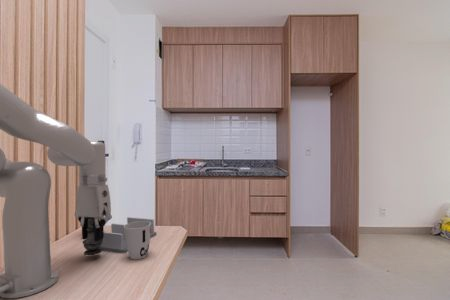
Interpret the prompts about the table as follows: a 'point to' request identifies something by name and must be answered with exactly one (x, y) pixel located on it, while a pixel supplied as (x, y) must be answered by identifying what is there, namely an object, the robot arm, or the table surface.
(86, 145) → the robot arm
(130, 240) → the cup
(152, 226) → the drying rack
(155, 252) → the table surface
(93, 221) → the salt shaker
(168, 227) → the table surface
